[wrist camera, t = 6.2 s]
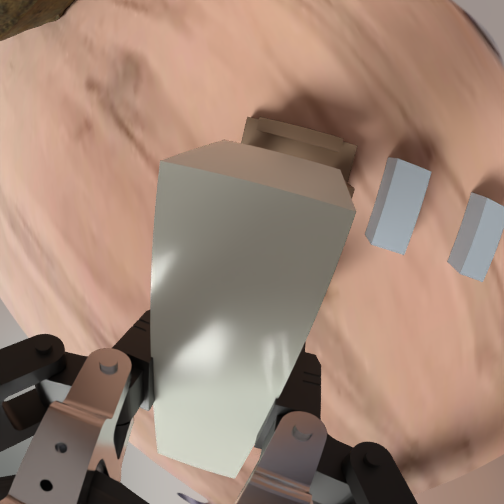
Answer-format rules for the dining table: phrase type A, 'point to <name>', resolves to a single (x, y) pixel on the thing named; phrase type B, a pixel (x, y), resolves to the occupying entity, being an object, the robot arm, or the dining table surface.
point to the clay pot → (28, 14)
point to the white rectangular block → (235, 290)
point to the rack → (301, 144)
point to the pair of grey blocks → (407, 210)
